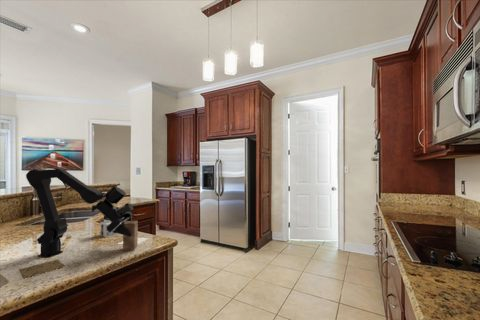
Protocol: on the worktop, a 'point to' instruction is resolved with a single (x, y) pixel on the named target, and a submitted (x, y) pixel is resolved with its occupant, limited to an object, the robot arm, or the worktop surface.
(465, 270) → the worktop surface
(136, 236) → the walnut block
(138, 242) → the tile
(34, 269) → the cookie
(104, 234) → the container
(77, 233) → the worktop surface
